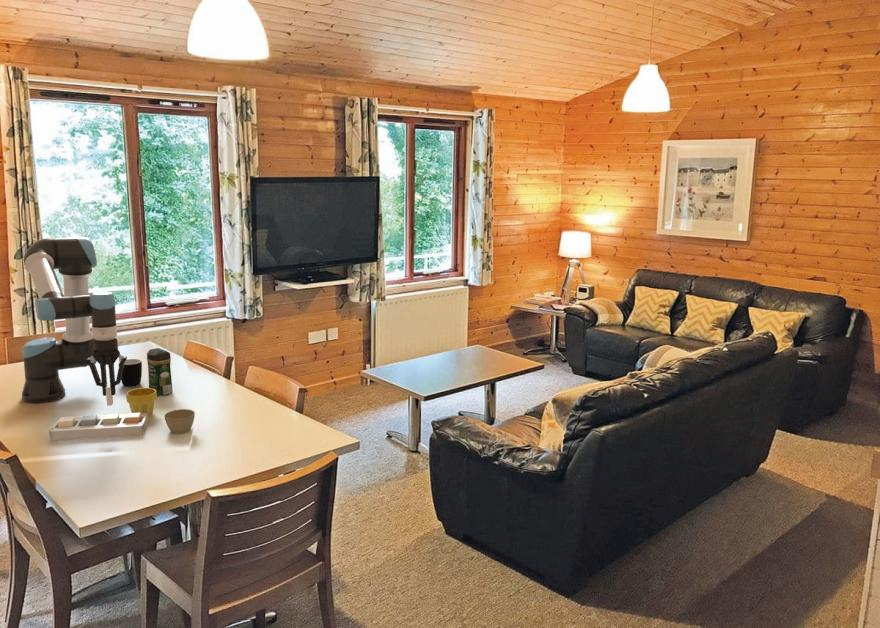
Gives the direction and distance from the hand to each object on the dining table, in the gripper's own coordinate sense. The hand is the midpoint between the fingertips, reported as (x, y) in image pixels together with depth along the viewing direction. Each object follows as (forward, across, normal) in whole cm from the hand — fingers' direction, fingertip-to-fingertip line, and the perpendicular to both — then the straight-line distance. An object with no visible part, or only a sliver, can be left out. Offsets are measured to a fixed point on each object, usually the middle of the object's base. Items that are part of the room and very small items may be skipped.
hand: (110, 404), depth 245 cm
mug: (+11, -3, +59) cm, 60 cm away
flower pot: (+11, +23, -5) cm, 26 cm away
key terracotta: (+7, +7, 0) cm, 10 cm away
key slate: (+7, -7, 0) cm, 10 cm away
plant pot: (+11, +8, +15) cm, 20 cm away
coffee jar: (+11, +11, +43) cm, 46 cm away
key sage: (+7, 0, 0) cm, 7 cm away
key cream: (+7, -14, 0) cm, 16 cm away
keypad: (+10, -4, 0) cm, 11 cm away
